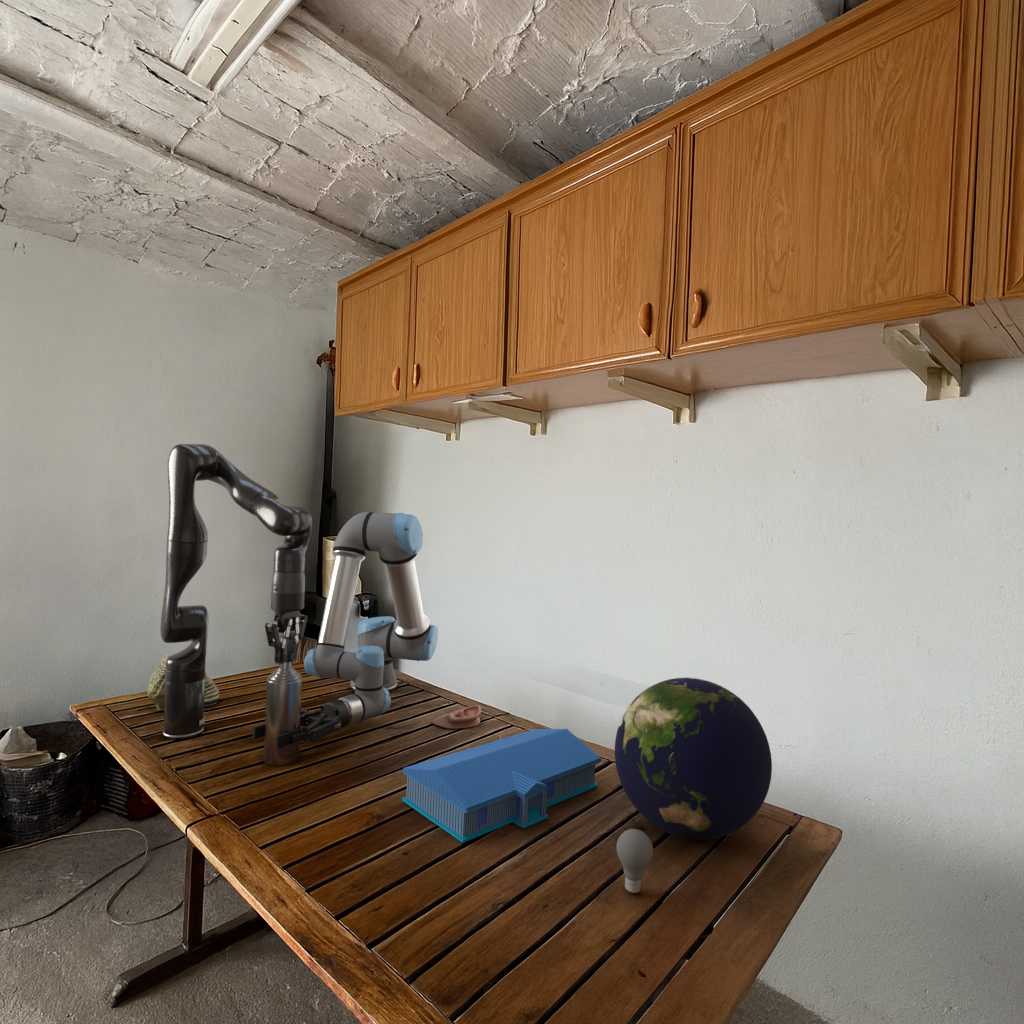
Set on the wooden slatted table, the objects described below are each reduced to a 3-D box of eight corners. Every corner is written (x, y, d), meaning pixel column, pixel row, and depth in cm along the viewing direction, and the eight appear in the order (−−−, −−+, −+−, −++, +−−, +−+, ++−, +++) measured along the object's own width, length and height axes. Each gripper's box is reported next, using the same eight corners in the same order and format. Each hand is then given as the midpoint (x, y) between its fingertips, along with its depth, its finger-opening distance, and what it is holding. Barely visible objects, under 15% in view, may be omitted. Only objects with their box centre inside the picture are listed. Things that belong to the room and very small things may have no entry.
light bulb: (610, 879, 108) (613, 822, 108) (644, 879, 109) (647, 822, 109) (619, 902, 102) (622, 840, 102) (655, 901, 103) (658, 840, 103)
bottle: (265, 753, 155) (269, 653, 154) (300, 751, 157) (304, 652, 157) (261, 766, 147) (266, 661, 147) (298, 764, 149) (302, 660, 149)
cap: (272, 661, 150) (272, 653, 150) (283, 657, 154) (283, 649, 154) (287, 663, 149) (287, 655, 149) (297, 659, 153) (298, 651, 153)
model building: (473, 850, 116) (475, 796, 115) (400, 799, 134) (402, 752, 134) (609, 791, 142) (611, 746, 142) (533, 755, 160) (535, 716, 160)
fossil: (144, 707, 182) (145, 655, 182) (212, 696, 194) (213, 647, 194) (151, 716, 175) (153, 662, 175) (221, 703, 188) (223, 653, 188)
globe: (594, 848, 118) (602, 688, 118) (628, 784, 146) (634, 654, 145) (767, 892, 107) (776, 715, 106) (767, 813, 134) (775, 673, 134)
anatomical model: (428, 712, 177) (441, 699, 188) (427, 726, 177) (440, 713, 188) (474, 717, 174) (484, 704, 186) (473, 731, 174) (484, 718, 186)
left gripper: (283, 595, 143) (280, 670, 144) (318, 587, 157) (316, 656, 157) (255, 592, 145) (252, 666, 146) (292, 584, 159) (289, 652, 159)
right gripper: (368, 736, 161) (293, 765, 142) (314, 718, 173) (238, 742, 154) (369, 707, 161) (294, 732, 142) (315, 690, 173) (239, 711, 154)
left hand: (285, 660), depth 152 cm, fingers closed on cap, 4 cm apart
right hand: (265, 737), depth 148 cm, fingers closed on bottle, 8 cm apart
